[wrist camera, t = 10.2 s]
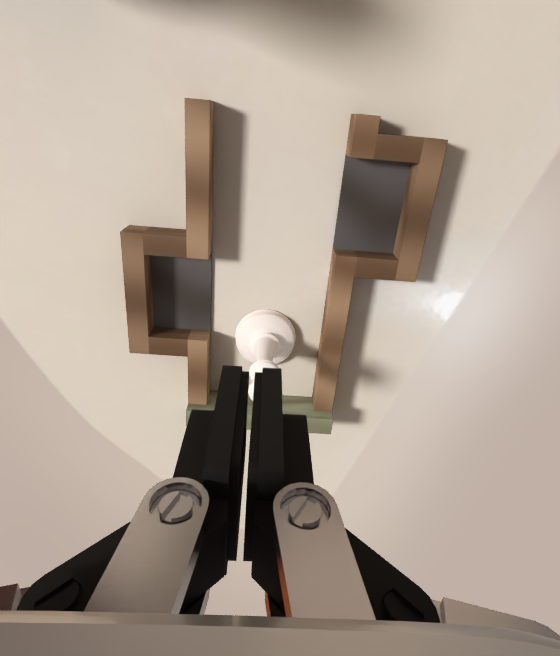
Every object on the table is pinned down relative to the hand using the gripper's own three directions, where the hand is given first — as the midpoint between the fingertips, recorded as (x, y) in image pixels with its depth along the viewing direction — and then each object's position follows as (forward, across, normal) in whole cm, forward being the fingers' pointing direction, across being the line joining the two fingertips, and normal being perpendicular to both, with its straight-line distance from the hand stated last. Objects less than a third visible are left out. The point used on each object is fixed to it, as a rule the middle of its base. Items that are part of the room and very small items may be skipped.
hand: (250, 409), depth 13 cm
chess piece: (+22, -1, +9) cm, 23 cm away
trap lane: (+21, -1, +4) cm, 22 cm away
